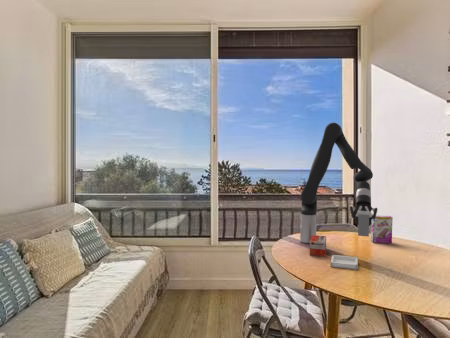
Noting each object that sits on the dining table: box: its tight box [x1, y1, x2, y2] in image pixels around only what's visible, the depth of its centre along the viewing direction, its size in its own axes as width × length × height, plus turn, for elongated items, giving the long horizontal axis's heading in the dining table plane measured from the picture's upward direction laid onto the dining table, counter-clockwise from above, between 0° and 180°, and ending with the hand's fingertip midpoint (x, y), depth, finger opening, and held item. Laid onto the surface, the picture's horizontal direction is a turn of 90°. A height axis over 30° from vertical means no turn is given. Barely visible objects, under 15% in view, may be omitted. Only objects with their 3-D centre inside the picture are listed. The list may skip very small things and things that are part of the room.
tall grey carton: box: [357, 211, 370, 237], centre depth 171 cm, size 5×6×12 cm
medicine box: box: [309, 234, 327, 257], centre depth 182 cm, size 15×8×8 cm, turn 161°
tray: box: [330, 254, 359, 270], centre depth 161 cm, size 12×13×2 cm
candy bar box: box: [370, 214, 393, 244], centre depth 202 cm, size 11×5×16 cm, turn 84°
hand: (363, 224), depth 169 cm, fingers closed on tall grey carton, 5 cm apart
